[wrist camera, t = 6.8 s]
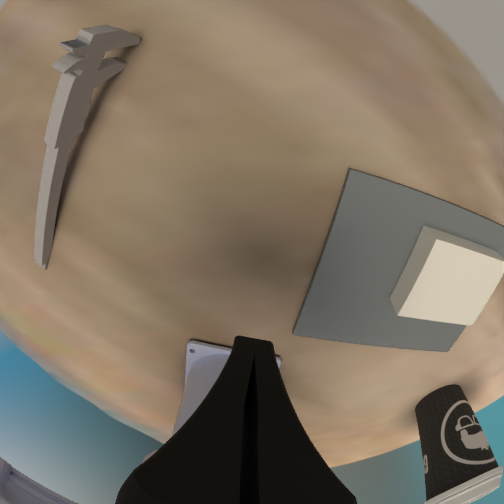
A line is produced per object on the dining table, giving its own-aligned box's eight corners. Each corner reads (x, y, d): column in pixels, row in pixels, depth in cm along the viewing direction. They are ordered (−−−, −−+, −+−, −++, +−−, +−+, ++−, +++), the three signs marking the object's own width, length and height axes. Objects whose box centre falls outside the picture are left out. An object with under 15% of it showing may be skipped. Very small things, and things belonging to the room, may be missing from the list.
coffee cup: (399, 399, 27) (424, 517, 14) (473, 364, 25) (516, 474, 12) (407, 427, 31) (425, 521, 18) (469, 400, 28) (498, 489, 15)
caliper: (132, 32, 13) (73, 15, 8) (145, 39, 13) (88, 21, 8) (40, 261, 22) (-1, 302, 17) (49, 268, 22) (9, 310, 17)
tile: (389, 297, 20) (462, 310, 20) (397, 315, 18) (471, 325, 19) (423, 224, 17) (495, 250, 18) (436, 238, 15) (508, 263, 16)
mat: (446, 349, 23) (447, 352, 23) (292, 331, 23) (292, 334, 22) (514, 231, 17) (517, 233, 17) (349, 167, 16) (350, 169, 16)
